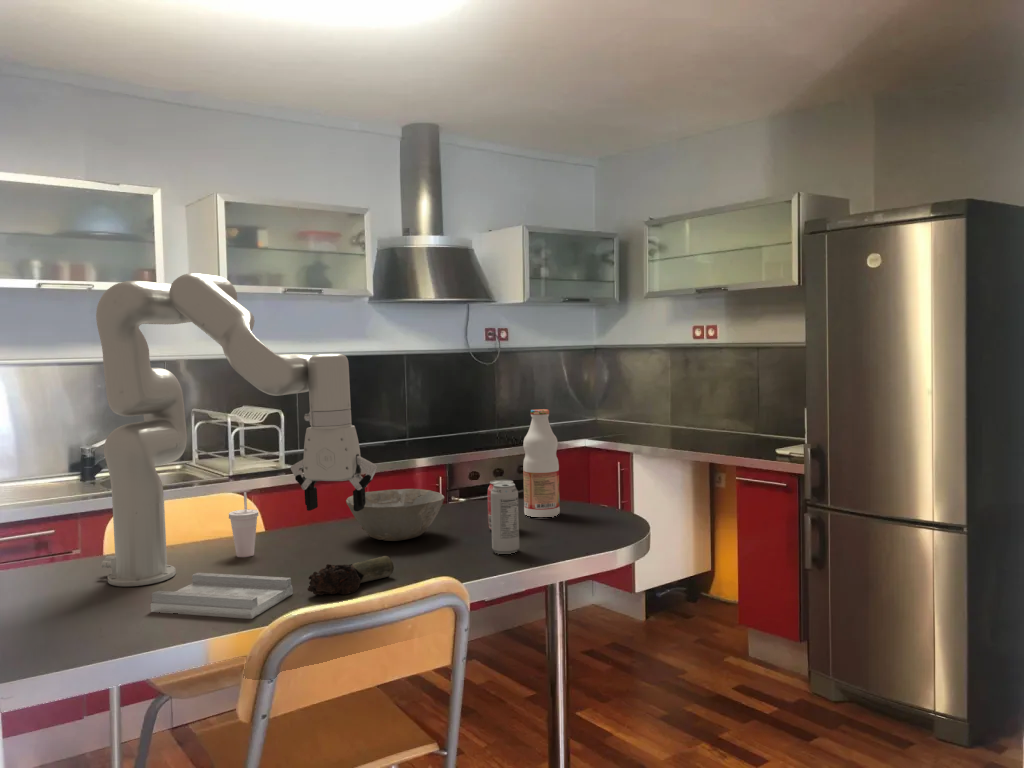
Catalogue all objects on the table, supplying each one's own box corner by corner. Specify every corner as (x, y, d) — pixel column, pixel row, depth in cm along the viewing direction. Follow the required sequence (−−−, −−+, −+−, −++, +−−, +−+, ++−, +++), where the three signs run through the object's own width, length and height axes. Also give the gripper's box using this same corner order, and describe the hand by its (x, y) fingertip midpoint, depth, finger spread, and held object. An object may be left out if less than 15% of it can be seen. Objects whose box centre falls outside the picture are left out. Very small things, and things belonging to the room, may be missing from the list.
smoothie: (265, 554, 185) (263, 492, 184) (239, 560, 180) (236, 496, 179) (251, 549, 189) (248, 489, 188) (224, 555, 184) (222, 493, 184)
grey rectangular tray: (151, 611, 147) (150, 594, 146) (199, 588, 160) (198, 572, 160) (251, 618, 142) (250, 600, 142) (292, 593, 155) (291, 577, 155)
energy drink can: (511, 547, 186) (509, 481, 185) (524, 553, 181) (522, 485, 180) (487, 550, 183) (485, 483, 183) (499, 557, 178) (498, 488, 177)
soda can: (522, 528, 204) (521, 480, 203) (506, 534, 198) (505, 485, 198) (498, 525, 208) (497, 478, 207) (482, 531, 202) (481, 482, 201)
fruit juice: (516, 515, 219) (514, 410, 217) (540, 510, 226) (538, 407, 224) (543, 520, 212) (541, 412, 211) (567, 514, 219) (565, 409, 218)
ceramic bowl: (452, 545, 189) (450, 502, 189) (349, 554, 184) (348, 509, 183) (437, 524, 211) (436, 486, 210) (345, 531, 205) (344, 491, 205)
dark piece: (378, 575, 168) (377, 547, 167) (400, 581, 163) (400, 553, 163) (304, 596, 154) (303, 566, 154) (326, 603, 150) (325, 572, 150)
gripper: (279, 422, 154) (284, 513, 155) (365, 421, 150) (369, 514, 151) (299, 418, 161) (303, 505, 162) (381, 416, 157) (385, 506, 158)
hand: (335, 509), depth 156 cm, fingers open, 9 cm apart
